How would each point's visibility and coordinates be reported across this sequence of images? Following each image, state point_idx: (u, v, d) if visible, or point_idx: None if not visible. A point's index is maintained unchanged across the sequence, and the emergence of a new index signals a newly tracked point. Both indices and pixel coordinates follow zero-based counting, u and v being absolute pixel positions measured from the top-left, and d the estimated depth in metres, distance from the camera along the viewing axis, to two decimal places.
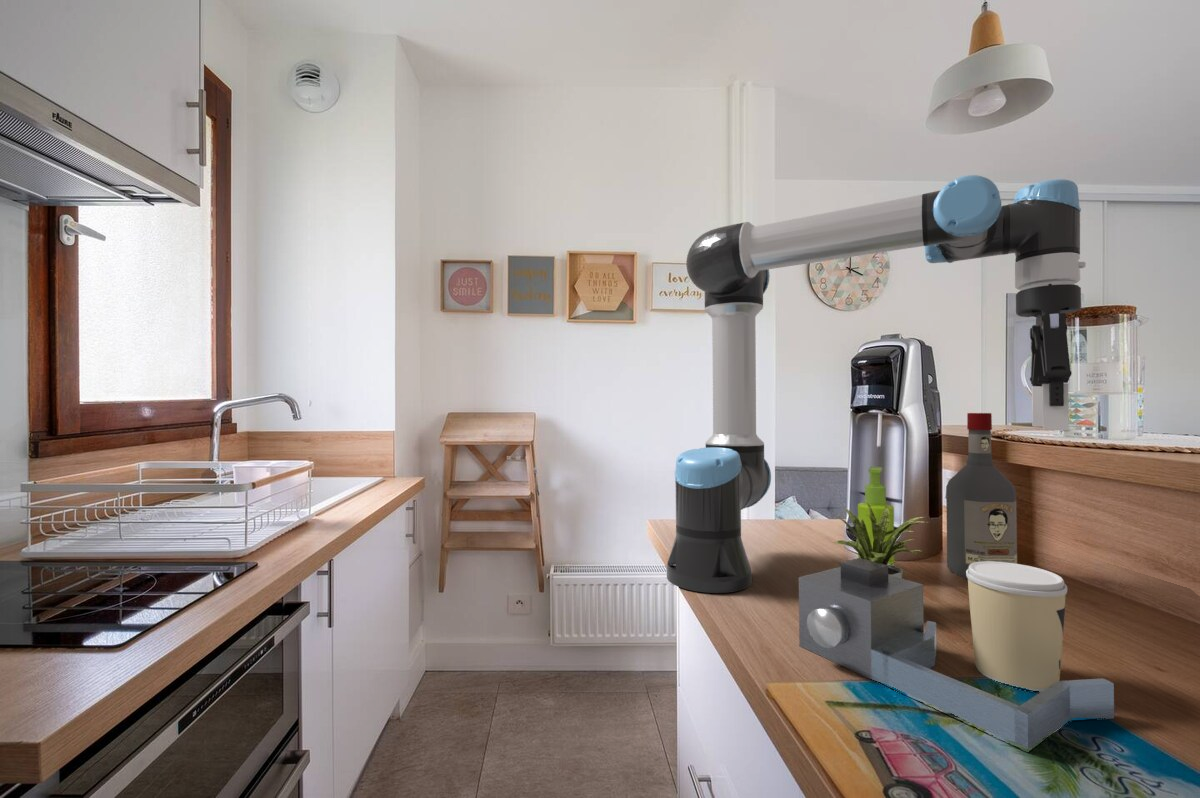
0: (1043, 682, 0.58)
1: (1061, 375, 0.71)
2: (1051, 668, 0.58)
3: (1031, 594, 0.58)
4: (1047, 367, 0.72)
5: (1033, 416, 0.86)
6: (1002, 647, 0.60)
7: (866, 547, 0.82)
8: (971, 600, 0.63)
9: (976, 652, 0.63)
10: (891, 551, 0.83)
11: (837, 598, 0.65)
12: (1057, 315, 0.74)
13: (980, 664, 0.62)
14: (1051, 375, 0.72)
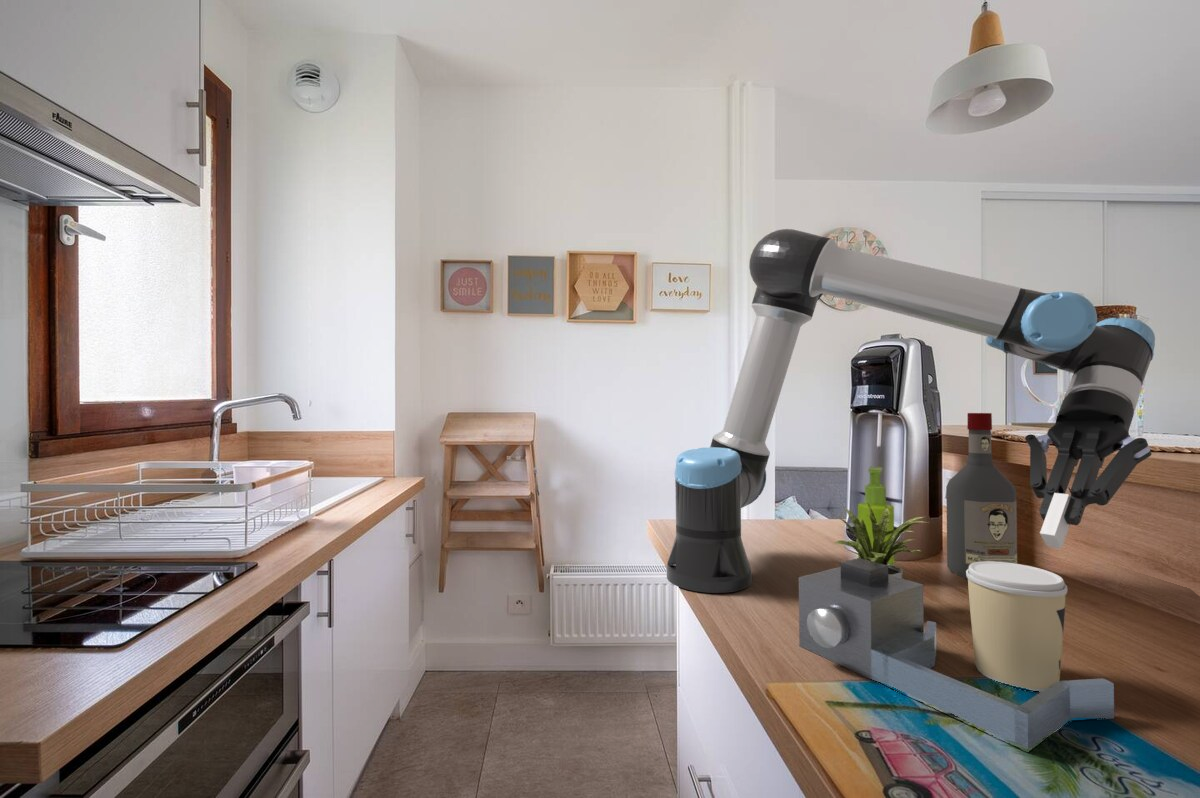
0: (1043, 682, 0.58)
1: (1100, 500, 0.66)
2: (1051, 668, 0.58)
3: (1031, 594, 0.58)
4: (1104, 487, 0.65)
5: (1050, 524, 0.66)
6: (1002, 647, 0.60)
7: (866, 547, 0.82)
8: (971, 600, 0.63)
9: (976, 652, 0.63)
10: (891, 551, 0.83)
11: (837, 598, 0.65)
12: (1148, 450, 0.67)
13: (980, 664, 0.62)
14: (1100, 494, 0.65)
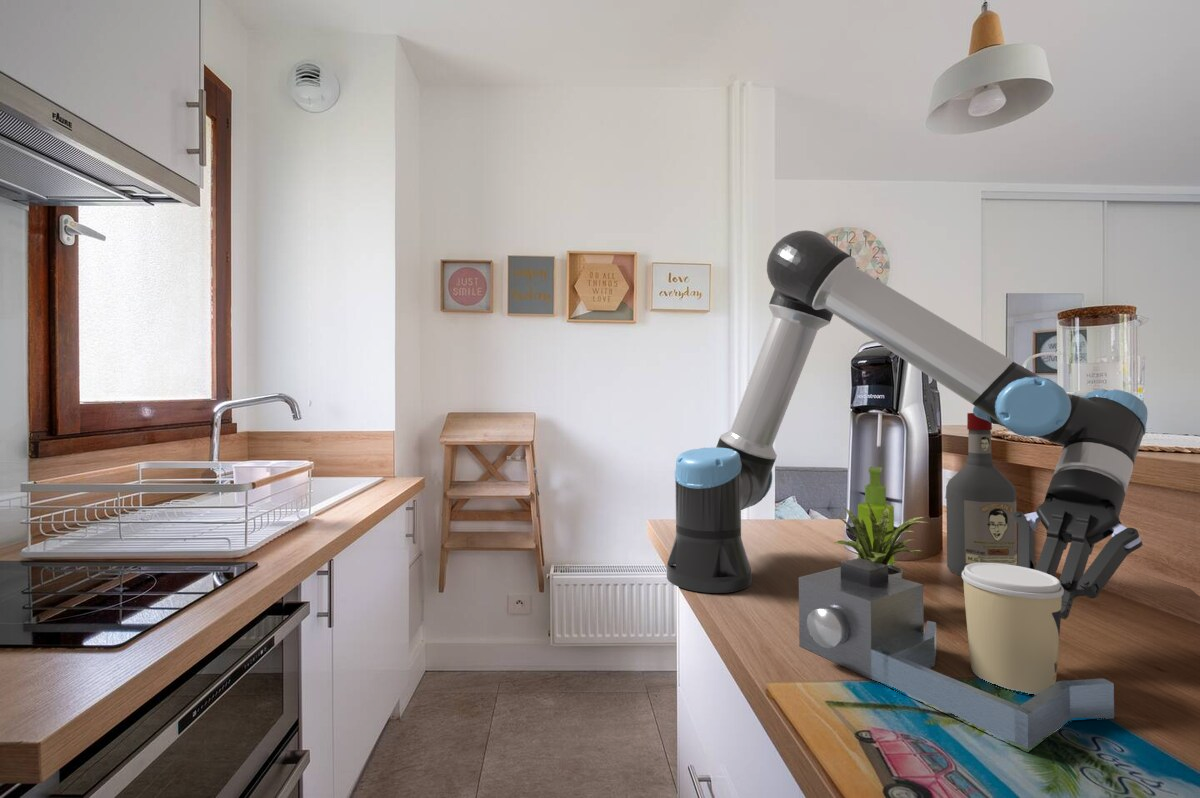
0: (1038, 685, 0.58)
1: (1089, 593, 0.64)
2: (1046, 671, 0.58)
3: (1025, 596, 0.57)
4: (1094, 580, 0.63)
5: None
6: (996, 649, 0.59)
7: (866, 547, 0.82)
8: (966, 601, 0.63)
9: (971, 654, 0.63)
10: (891, 551, 0.83)
11: (837, 598, 0.65)
12: (1140, 541, 0.64)
13: (975, 666, 0.62)
14: (1090, 588, 0.63)
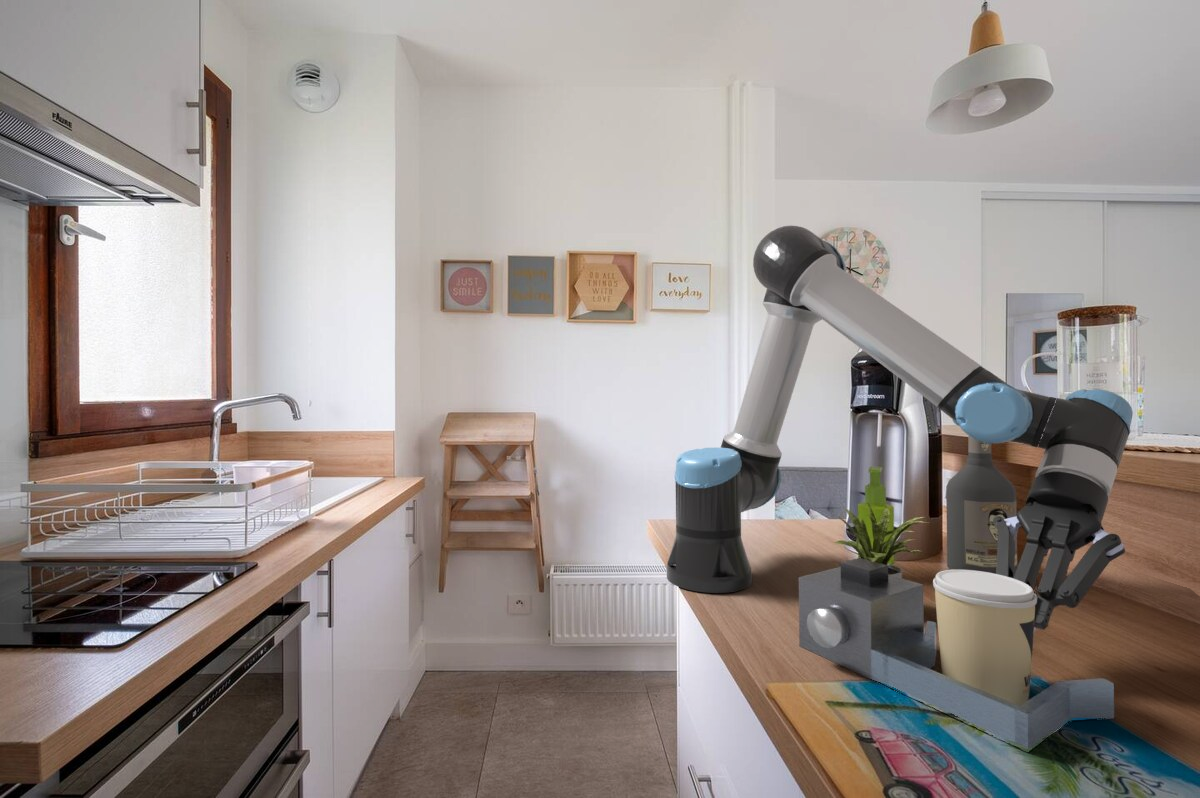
0: (1005, 698, 0.55)
1: (1069, 603, 0.61)
2: (1014, 685, 0.55)
3: (990, 604, 0.55)
4: (1073, 589, 0.60)
5: None
6: (961, 658, 0.57)
7: (866, 547, 0.82)
8: (936, 609, 0.61)
9: (941, 663, 0.60)
10: (891, 551, 0.83)
11: (837, 598, 0.65)
12: (1122, 547, 0.61)
13: None
14: (1069, 597, 0.60)
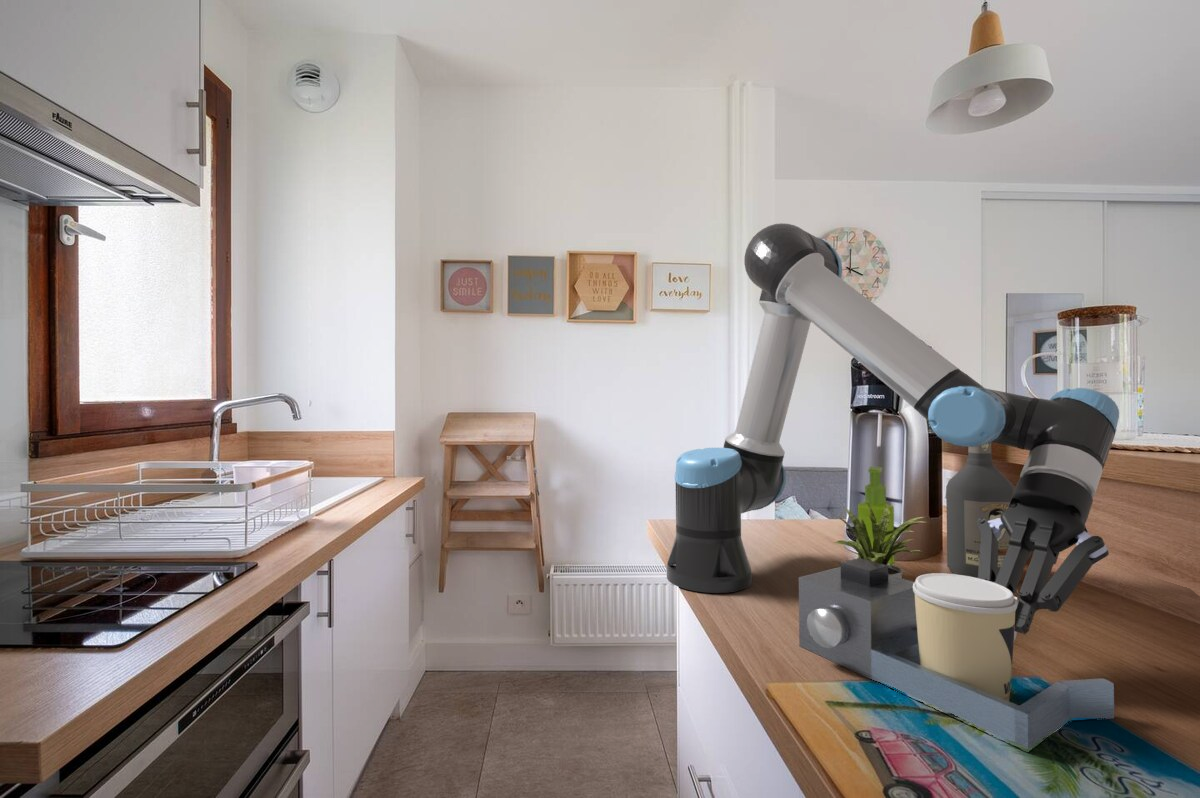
0: None
1: (1051, 606, 0.59)
2: (993, 692, 0.54)
3: (969, 610, 0.53)
4: (1055, 593, 0.59)
5: None
6: (940, 665, 0.56)
7: (866, 547, 0.82)
8: (916, 614, 0.59)
9: None
10: (891, 551, 0.83)
11: (837, 598, 0.65)
12: (1105, 550, 0.60)
13: None
14: (1051, 600, 0.59)
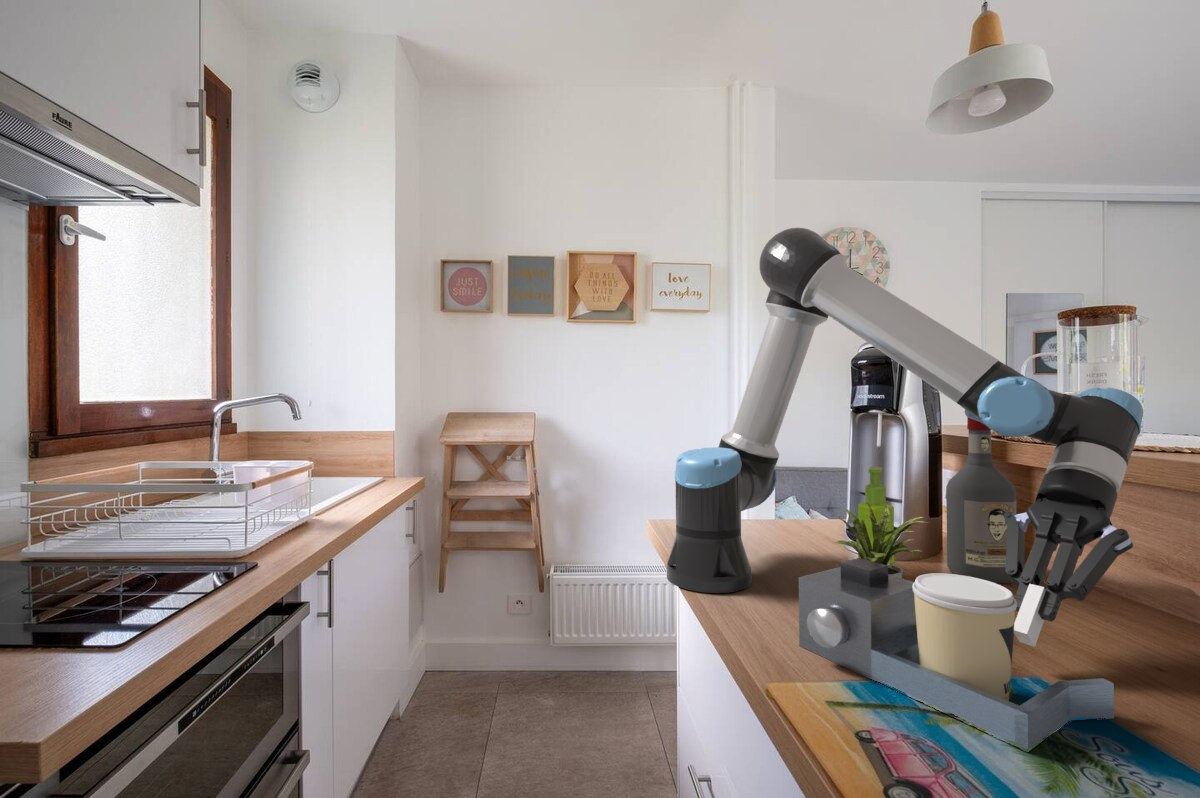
0: None
1: (1077, 596, 0.62)
2: (993, 692, 0.54)
3: (969, 610, 0.53)
4: (1081, 582, 0.62)
5: (1022, 620, 0.63)
6: (941, 665, 0.56)
7: (866, 547, 0.82)
8: None
9: None
10: (891, 551, 0.83)
11: (837, 598, 0.65)
12: (1130, 542, 0.63)
13: None
14: (1077, 590, 0.62)
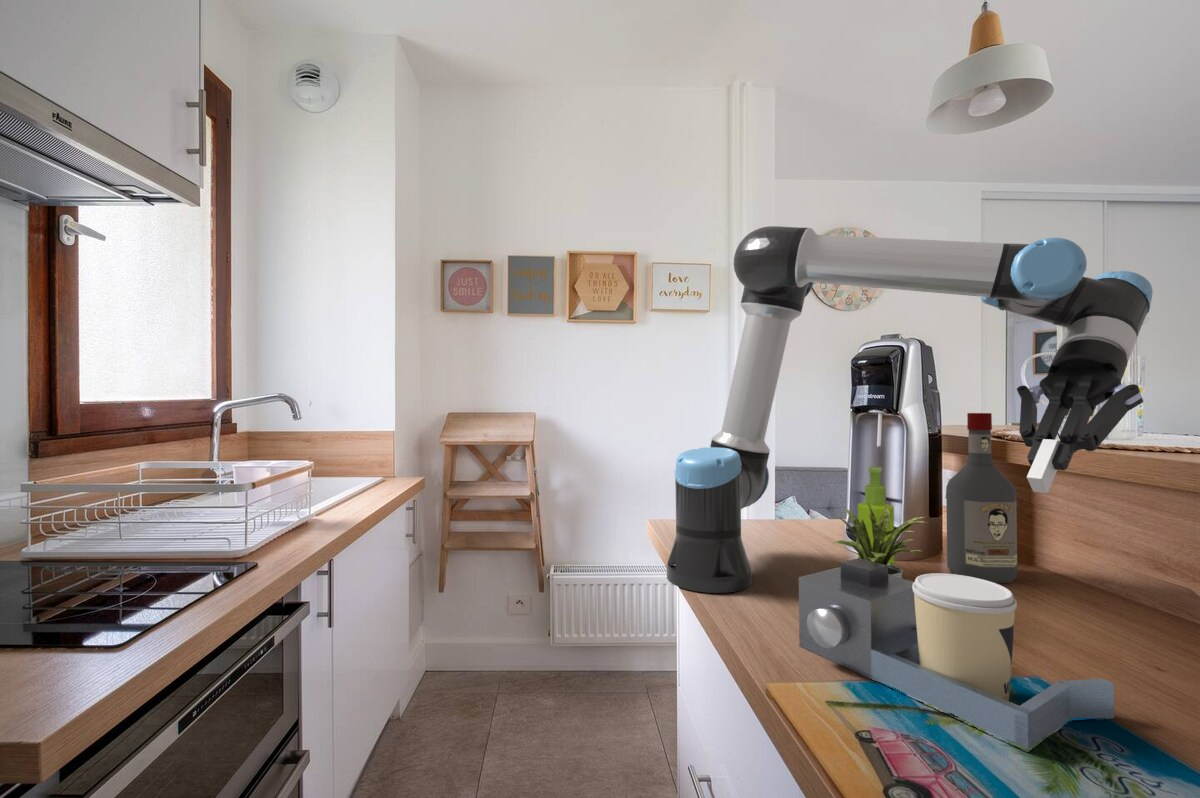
0: None
1: (1089, 446, 0.65)
2: (993, 692, 0.54)
3: (969, 610, 0.54)
4: (1094, 432, 0.65)
5: (1037, 468, 0.65)
6: (940, 665, 0.56)
7: (866, 547, 0.82)
8: None
9: None
10: (891, 551, 0.83)
11: (837, 598, 0.65)
12: (1140, 397, 0.66)
13: None
14: (1089, 439, 0.65)
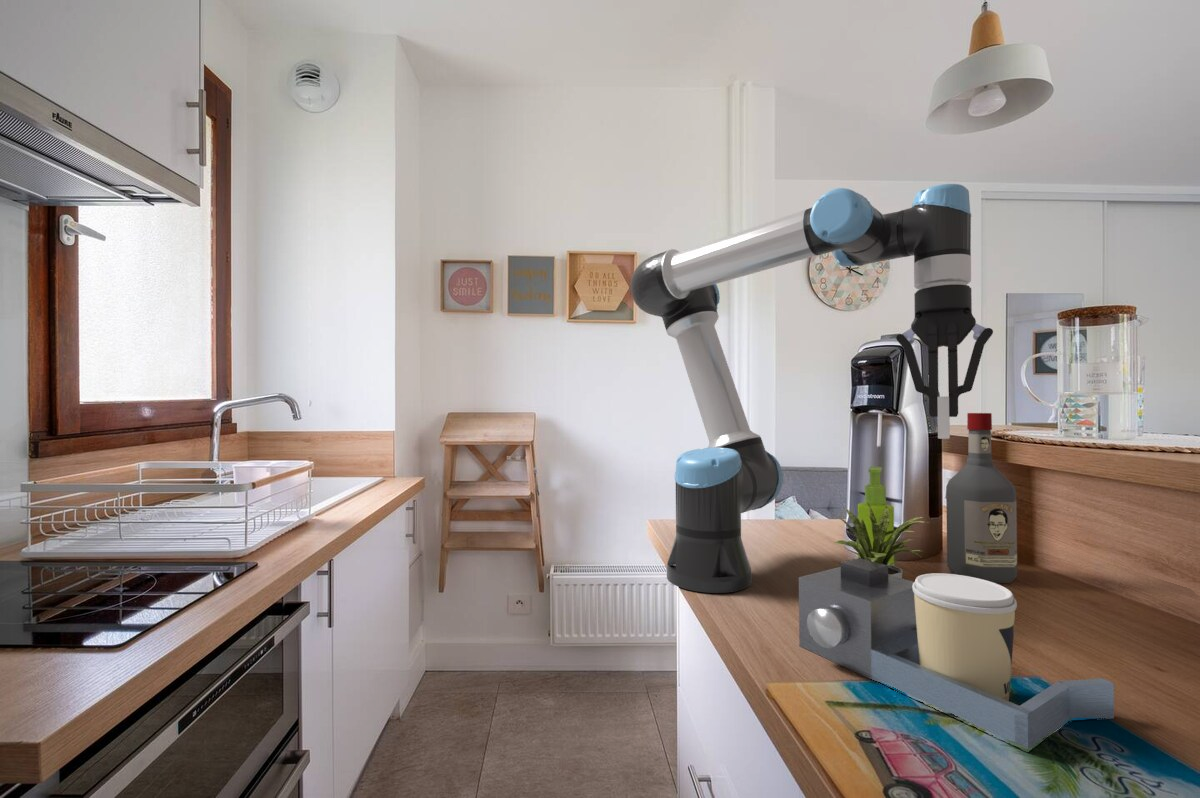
0: None
1: None
2: (993, 692, 0.54)
3: (969, 610, 0.53)
4: (972, 384, 0.80)
5: (942, 428, 0.82)
6: (940, 665, 0.56)
7: (866, 547, 0.82)
8: None
9: None
10: (891, 551, 0.83)
11: (837, 598, 0.65)
12: None
13: None
14: (970, 389, 0.80)
